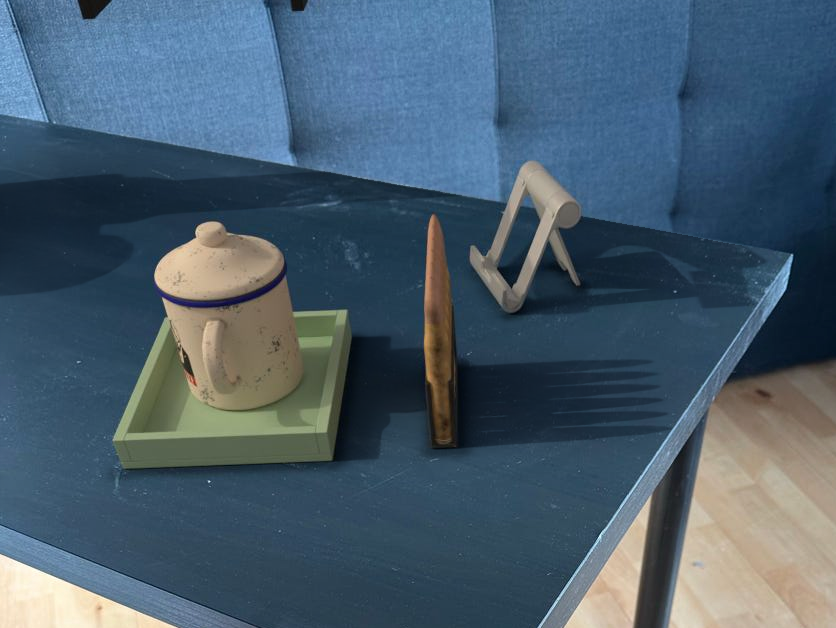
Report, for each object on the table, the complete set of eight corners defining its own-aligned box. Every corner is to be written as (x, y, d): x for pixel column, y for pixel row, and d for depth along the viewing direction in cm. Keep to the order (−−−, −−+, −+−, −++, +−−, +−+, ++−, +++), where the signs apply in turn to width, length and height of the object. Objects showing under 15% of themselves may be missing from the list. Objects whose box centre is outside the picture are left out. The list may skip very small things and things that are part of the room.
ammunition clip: (433, 366, 72) (420, 209, 63) (457, 365, 72) (447, 207, 63) (430, 449, 65) (415, 284, 56) (457, 448, 65) (446, 283, 56)
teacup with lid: (199, 351, 74) (156, 201, 65) (313, 346, 74) (285, 194, 65) (168, 441, 66) (114, 283, 57) (296, 435, 66) (262, 276, 57)
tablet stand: (470, 270, 83) (465, 171, 77) (553, 254, 84) (555, 156, 78) (501, 315, 77) (499, 213, 71) (590, 297, 79) (595, 196, 72)
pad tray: (123, 469, 65) (111, 440, 63) (173, 344, 76) (165, 316, 74) (332, 461, 64) (327, 431, 63) (352, 337, 76) (347, 309, 74)
